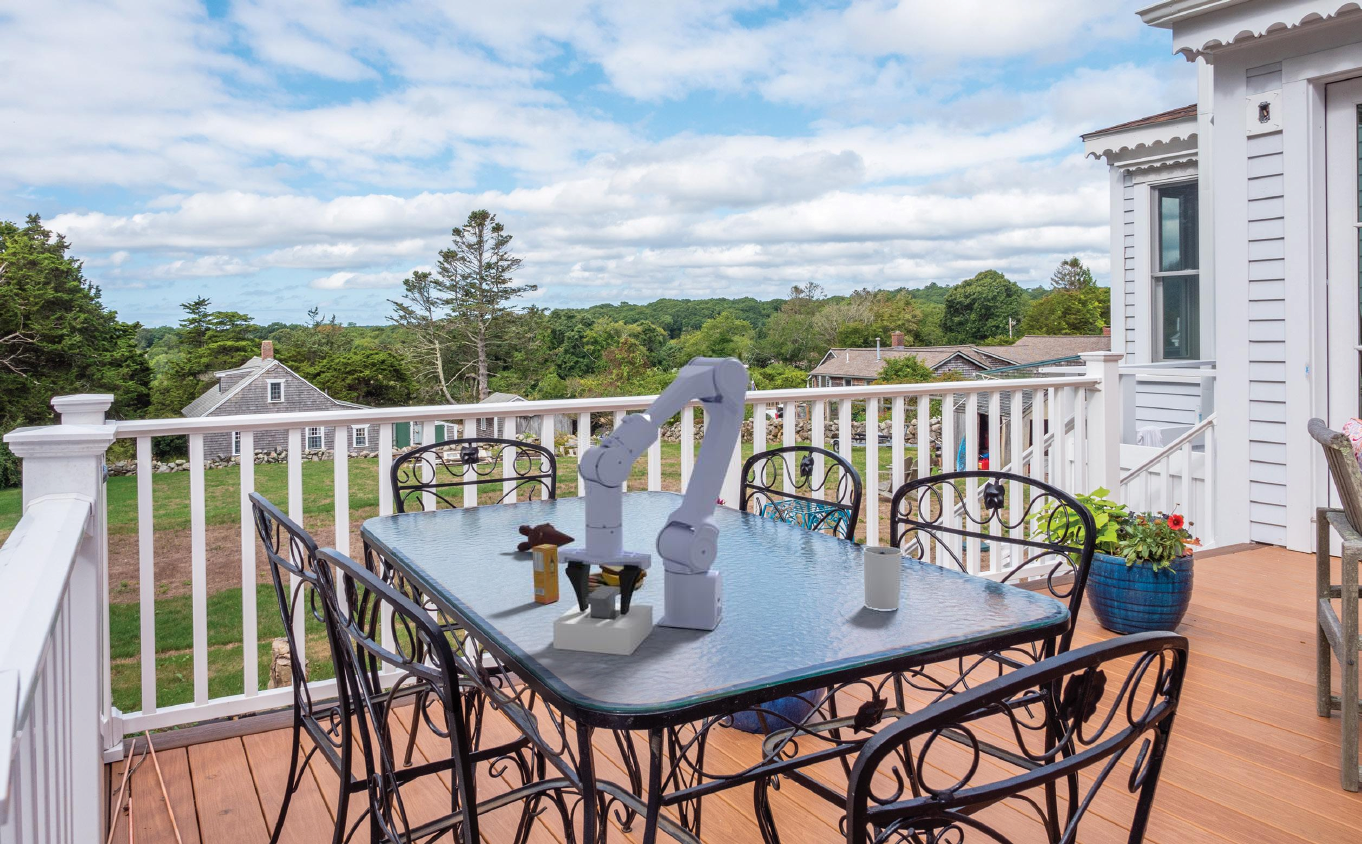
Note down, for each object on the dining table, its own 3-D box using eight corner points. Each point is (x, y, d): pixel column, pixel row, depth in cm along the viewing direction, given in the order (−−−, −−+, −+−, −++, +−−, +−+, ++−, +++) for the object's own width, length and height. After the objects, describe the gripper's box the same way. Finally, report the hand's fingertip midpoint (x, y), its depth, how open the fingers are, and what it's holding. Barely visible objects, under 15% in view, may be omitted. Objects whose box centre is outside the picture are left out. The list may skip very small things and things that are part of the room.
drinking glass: (854, 603, 159) (855, 548, 158) (885, 599, 161) (887, 544, 160) (877, 614, 153) (878, 556, 152) (909, 609, 155) (910, 552, 154)
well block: (652, 630, 143) (652, 605, 143) (629, 655, 132) (629, 628, 132) (582, 624, 146) (581, 600, 146) (553, 648, 135) (553, 622, 135)
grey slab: (619, 624, 141) (619, 586, 141) (604, 638, 135) (604, 598, 134) (601, 622, 142) (601, 585, 142) (585, 636, 135) (585, 597, 135)
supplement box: (546, 597, 162) (546, 542, 161) (559, 600, 160) (559, 545, 159) (532, 601, 160) (531, 545, 159) (545, 604, 157) (545, 548, 157)
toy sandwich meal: (567, 582, 173) (567, 558, 173) (630, 574, 180) (630, 551, 179) (594, 598, 162) (594, 573, 162) (660, 589, 169) (660, 564, 168)
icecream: (585, 524, 196) (530, 524, 203) (565, 521, 189) (508, 521, 197) (583, 556, 195) (527, 555, 202) (562, 555, 188) (506, 553, 195)
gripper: (549, 527, 136) (550, 615, 137) (641, 532, 132) (641, 622, 133) (567, 518, 142) (567, 602, 144) (655, 523, 139) (654, 609, 140)
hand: (604, 611), depth 139 cm, fingers open, 6 cm apart
